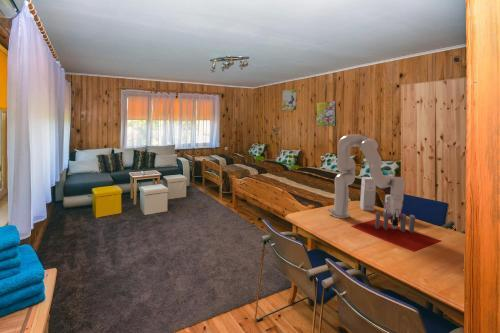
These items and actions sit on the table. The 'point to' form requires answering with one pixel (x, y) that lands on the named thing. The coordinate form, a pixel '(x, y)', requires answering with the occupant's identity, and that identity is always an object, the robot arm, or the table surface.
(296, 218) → the table surface
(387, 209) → the candy bar box
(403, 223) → the domino
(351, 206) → the table surface
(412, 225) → the domino
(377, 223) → the domino
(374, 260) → the table surface
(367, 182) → the box
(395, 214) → the domino
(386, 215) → the domino
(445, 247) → the table surface
